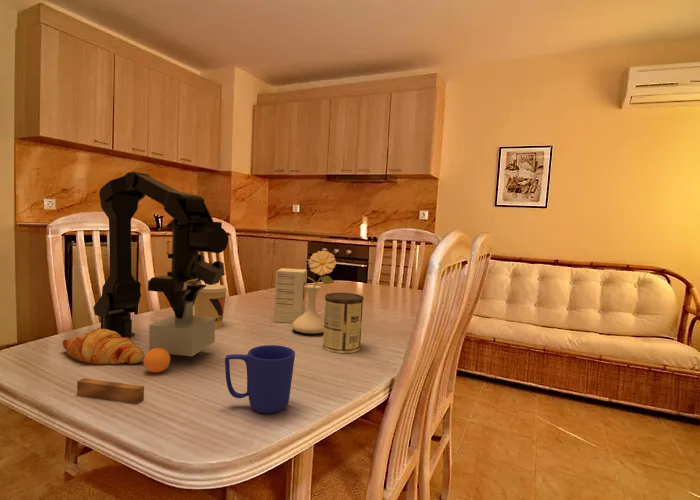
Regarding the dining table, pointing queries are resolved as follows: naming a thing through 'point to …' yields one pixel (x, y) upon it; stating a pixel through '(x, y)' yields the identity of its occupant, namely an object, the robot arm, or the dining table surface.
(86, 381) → the walnut strip
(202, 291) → the coffee cup
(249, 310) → the dining table surface
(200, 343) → the cover
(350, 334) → the coffee can
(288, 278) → the supplement box
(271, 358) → the mug
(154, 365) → the ball
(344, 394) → the dining table surface
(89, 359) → the croissant
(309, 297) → the flower in vase
